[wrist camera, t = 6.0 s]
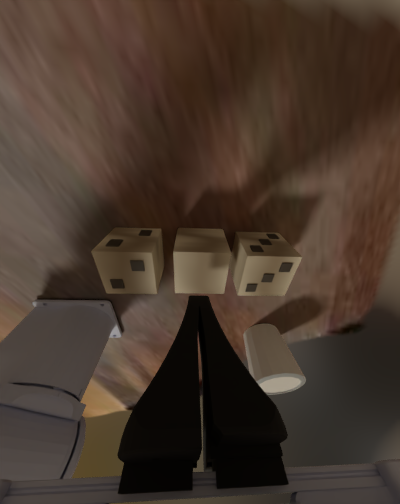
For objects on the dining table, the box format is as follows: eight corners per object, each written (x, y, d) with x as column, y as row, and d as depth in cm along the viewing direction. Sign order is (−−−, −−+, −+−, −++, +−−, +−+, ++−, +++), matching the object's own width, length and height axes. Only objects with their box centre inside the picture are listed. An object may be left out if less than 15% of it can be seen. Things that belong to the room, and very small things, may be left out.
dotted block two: (124, 263, 18) (105, 294, 15) (114, 225, 16) (89, 250, 12) (164, 264, 19) (156, 295, 15) (161, 227, 16) (151, 252, 12)
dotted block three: (229, 266, 19) (238, 296, 15) (235, 230, 17) (248, 255, 13) (266, 266, 19) (284, 296, 15) (278, 231, 17) (303, 256, 13)
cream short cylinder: (252, 317, 24) (271, 371, 19) (290, 325, 26) (318, 378, 20) (232, 341, 28) (242, 393, 22) (266, 347, 29) (285, 397, 23)
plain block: (178, 263, 19) (175, 293, 15) (178, 227, 16) (173, 251, 12) (217, 264, 19) (223, 293, 15) (222, 228, 17) (231, 253, 13)
